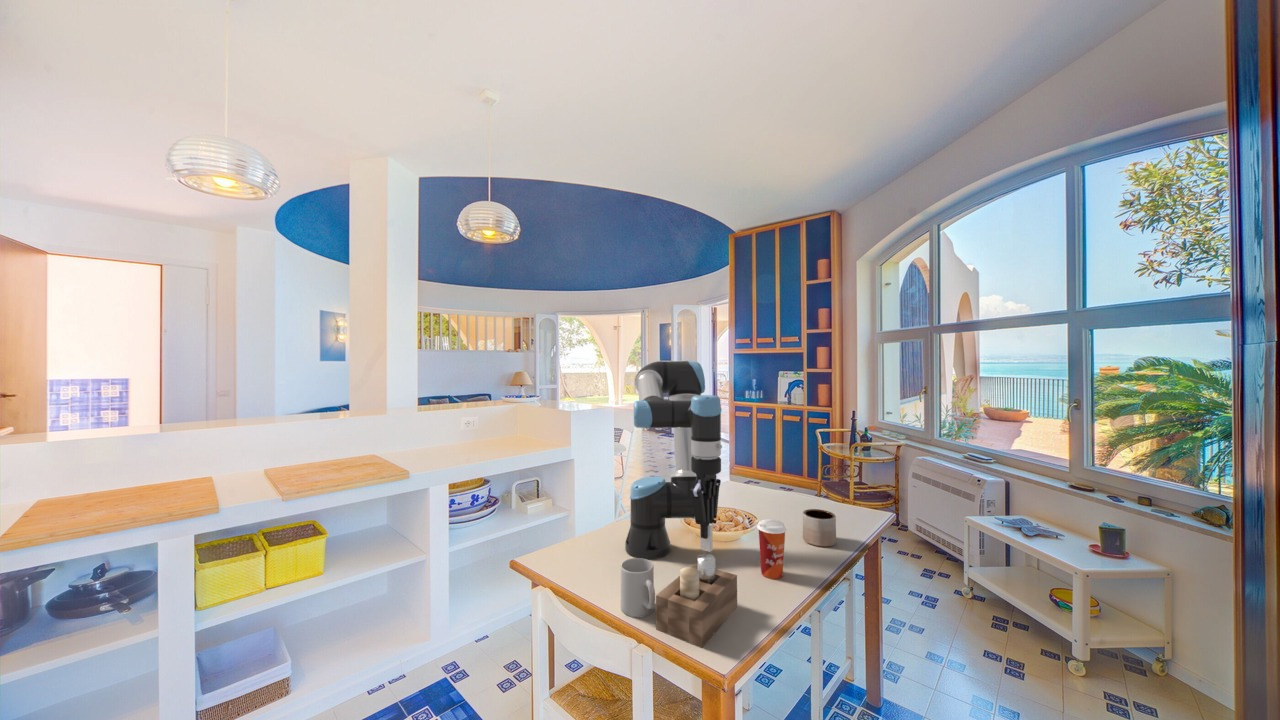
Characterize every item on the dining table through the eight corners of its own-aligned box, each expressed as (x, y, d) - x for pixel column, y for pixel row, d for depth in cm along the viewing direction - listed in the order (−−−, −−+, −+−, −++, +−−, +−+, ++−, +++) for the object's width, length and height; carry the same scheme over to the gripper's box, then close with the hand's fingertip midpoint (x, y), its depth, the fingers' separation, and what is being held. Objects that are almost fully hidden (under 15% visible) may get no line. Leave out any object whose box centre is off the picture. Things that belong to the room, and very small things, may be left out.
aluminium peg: (694, 590, 112) (694, 558, 112) (702, 583, 116) (702, 552, 116) (710, 595, 110) (710, 563, 110) (718, 587, 113) (718, 556, 113)
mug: (614, 604, 115) (614, 562, 115) (642, 595, 119) (642, 555, 119) (638, 629, 104) (638, 582, 104) (668, 618, 109) (668, 573, 109)
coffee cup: (771, 583, 125) (771, 530, 125) (751, 571, 133) (751, 521, 133) (793, 577, 129) (792, 525, 129) (772, 565, 136) (772, 516, 136)
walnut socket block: (656, 629, 104) (655, 595, 104) (695, 592, 121) (695, 563, 121) (702, 647, 97) (702, 611, 97) (737, 606, 114) (737, 575, 114)
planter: (807, 533, 162) (807, 506, 162) (839, 539, 156) (839, 512, 156) (798, 542, 153) (798, 515, 153) (832, 550, 147) (832, 521, 147)
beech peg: (676, 606, 105) (676, 572, 105) (685, 598, 108) (685, 565, 108) (693, 612, 102) (693, 578, 102) (702, 603, 106) (702, 570, 106)
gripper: (708, 462, 105) (708, 562, 105) (730, 453, 116) (730, 544, 116) (680, 459, 109) (680, 555, 109) (704, 450, 120) (704, 538, 120)
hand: (706, 549), depth 112 cm, fingers closed
